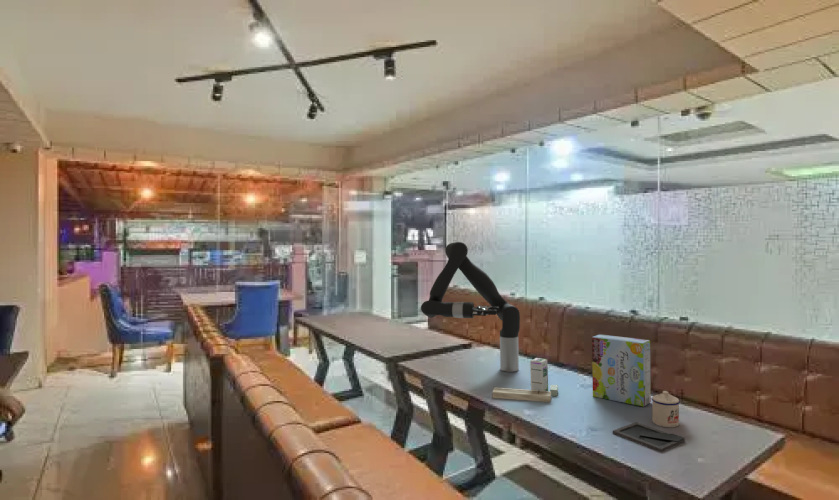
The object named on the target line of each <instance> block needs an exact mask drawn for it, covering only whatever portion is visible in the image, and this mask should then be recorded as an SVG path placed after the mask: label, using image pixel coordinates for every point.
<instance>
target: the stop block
mask: <svg viewBox="0 0 839 500" xmlns="http://www.w3.org/2000/svg"><path fill="white" fill-rule="evenodd" d="M549 388H550V389H549V391H551V396H552V397H553V396H555V397H557V396H558V394H559V393H558V392H559V389H558V388H559V386H558V385H557V384H550V386H549Z"/></svg>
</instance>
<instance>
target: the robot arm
mask: <svg viewBox="0 0 839 500" xmlns="http://www.w3.org/2000/svg"><path fill="white" fill-rule="evenodd" d="M468 252H469V249H468V246H467V245H466V243H464V242H462V241H455V242H450V243H448V244H447V245H446V246H445V251H444V253H445V256H446V258H447V262H446V264H445V265H444V267H443V269H442V270H441V271H440V273H439V274H438V276H437V277H436V279H435V281H433V285H432V286H431V289H430V291H429V299H428V300H425V301H424V302H422V303H421V305H420V310H421V313H422V314H423V315H424V316H426V317H428V318H435V317H436V316H442V317H445V318H456V319H457V318H458V319H474V317H477V316H479V317H480V316H482V317H485V316H486V317H487V316H488V315H489V316H497V317H498V318H499V319H500V320H501V322H502V325H501V326H502V327H501V329H500V330H499V361H500V362H499V365H500V366H499V370H500V371H501V372H502V371H503V372H507V373H510V372H511V373H514V372H518V371H519V370H520V367H519V366H520V365H519V362H520V361H519V355H520V354H519V334H520V333H519V332H520V330H521V329H520V327H521V322H520V321H521V318H520V317H521V315H520V310H519V309H518V307H516V306H515V305H512V304H510V303H509V302H508V301H506V300H505V299H504V297H502V294H500V292H499V290H498V288H497V286H496V284H495V282H494V281H493V280H492V278H491V277H490V275H488V274H487V273H486V272H485V271H484V270H483V269H482V268H481V267H479V266H478V265H476V264H475V263H474V262H472V261H471V259H470V258H469V257H468ZM458 270H460V272H461V273H462V274H463V275H464V278H466V279H467V281H468V282H469V283H470V284H471V286H472V287H474V289H475V290H476V292H478V293H479V295H481V297H482V298H483V299H484V300H485V301H486V302H487V303H488V304H489V305H477V306H475V304H474V302H472V301H456V302H453V301H451V302H450V301H448V302H447V301H446V302H444V301H443V299H444V296H445V295H446V292H447V290H448V288H449V286H450V283H452V280H453V278H454V276H455V275H456V273H457V271H458Z"/></svg>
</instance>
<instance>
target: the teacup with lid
mask: <svg viewBox="0 0 839 500" xmlns="http://www.w3.org/2000/svg"><path fill="white" fill-rule="evenodd" d="M651 400H652V401H651V402H652V422H653V423H654V424H655V425H657V426H659V427H664V428H676V427H678V426H679V425H680V403H681V402H680V400H679V398H678V397H676V396H674V395H672V394H670V393H669V391H667V390H663V391H662V393H659V394H654V395H653V396H652V397H651Z"/></svg>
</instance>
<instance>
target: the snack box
mask: <svg viewBox="0 0 839 500" xmlns="http://www.w3.org/2000/svg"><path fill="white" fill-rule="evenodd" d="M591 356H592V357H591V364H592V365H591V366H592V367H591V368H592V397H593V398H594V397H595V398H599V399H605V400H610V401H615V402H617V403H618V402H619V403H624V404H629V405H634V406H638V407H645V406H647V405H649V404H650V403H651V402H652V401H651V400H652V397H651V340H649V339H641V338H634V337H625V336H624V337H623V336H615V335H608V334H597V335H595V336H594V335H593V336H592V337H591Z"/></svg>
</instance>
